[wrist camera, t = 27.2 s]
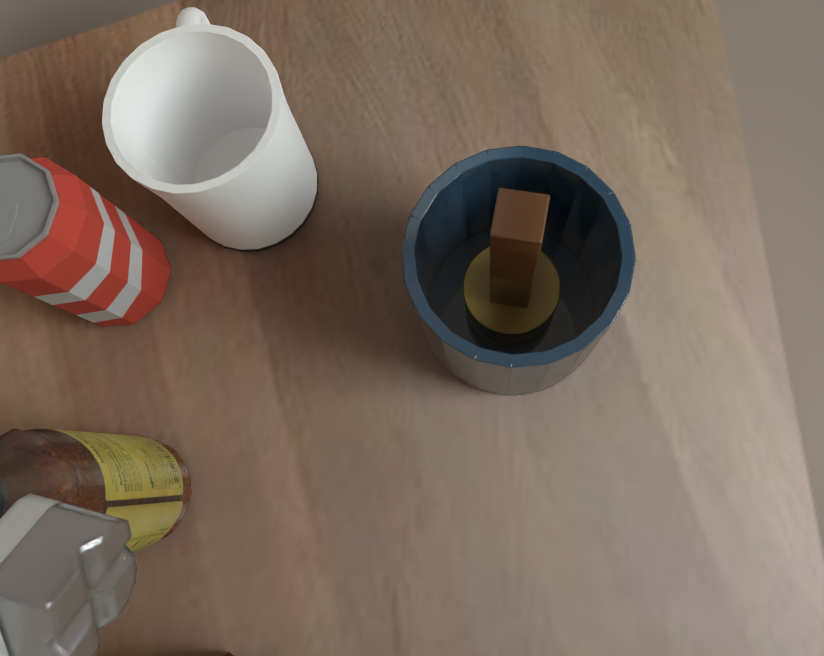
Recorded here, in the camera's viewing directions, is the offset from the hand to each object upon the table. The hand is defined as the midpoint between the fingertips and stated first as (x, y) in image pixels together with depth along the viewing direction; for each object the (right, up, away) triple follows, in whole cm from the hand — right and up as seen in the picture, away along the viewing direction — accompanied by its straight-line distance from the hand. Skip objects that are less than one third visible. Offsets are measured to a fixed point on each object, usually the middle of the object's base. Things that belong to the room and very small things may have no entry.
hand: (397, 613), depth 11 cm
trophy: (+6, +5, +32) cm, 33 cm away
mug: (-10, +13, +36) cm, 40 cm away
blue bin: (+6, +5, +33) cm, 34 cm away
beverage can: (-17, +7, +36) cm, 40 cm away
